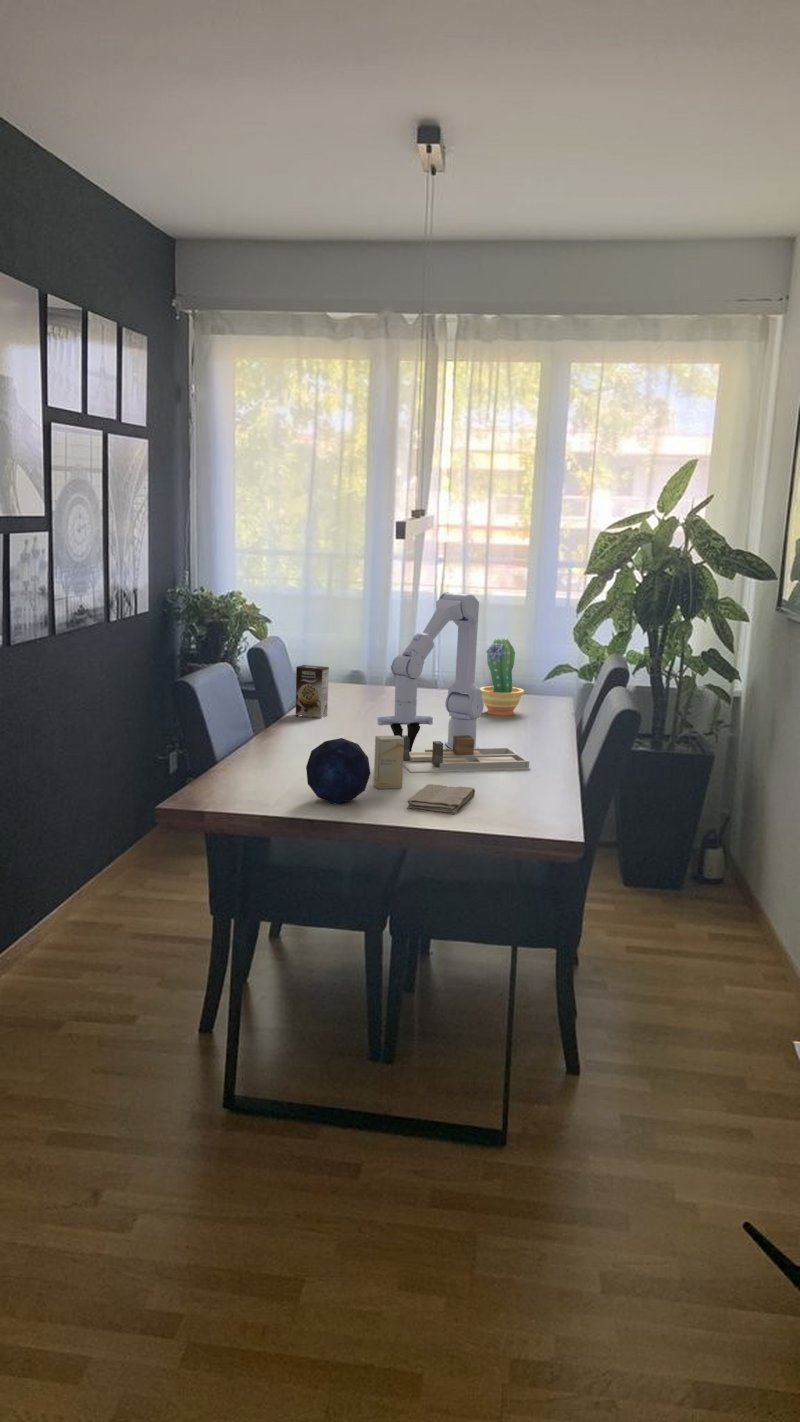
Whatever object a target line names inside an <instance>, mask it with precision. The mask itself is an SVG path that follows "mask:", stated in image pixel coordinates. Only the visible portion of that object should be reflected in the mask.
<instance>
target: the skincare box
mask: <svg viewBox="0 0 800 1422" xmlns="http://www.w3.org/2000/svg"><path fill="white" fill-rule="evenodd" d="M374 738H375V739H374V765H373V766H374V767H373V785H374V786H375V788H377V789H379V790H384V789H385V790H386V789H387V790H388V789H389V790H390V789H392V790H393V789H402V788H403V774H404V772H403V771H404V769H403V768H404V765H403V752H404V738H402V737H401V736H394V735H375V737H374Z"/></svg>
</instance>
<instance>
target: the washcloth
mask: <svg viewBox="0 0 800 1422" xmlns="http://www.w3.org/2000/svg"><path fill="white" fill-rule="evenodd" d="M475 793H476V790H475V788H474V787H469V786H454V785H453V786H450V785H449V786H448V785H443V784H442V785H441V784H432V783H431V784H430V783H429V784H426V785H425V786H424V787H423V788H421V789H420V790H418V791H417V792H416V793H415V794H414V795H412V796H411V797H410V798H408V799H407V801H406V802H407V803H406V804H408V806H407V808H406V809H407V810H413V811H418V812H428V813H437V814H444V815H447V814H448V815H453V814H457V813H459V812H460V811H462V810H463V809H464V808H465V807H466V806H467V805H468V804H469V803H470V802H471V800H473V798H474V797H475Z"/></svg>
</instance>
